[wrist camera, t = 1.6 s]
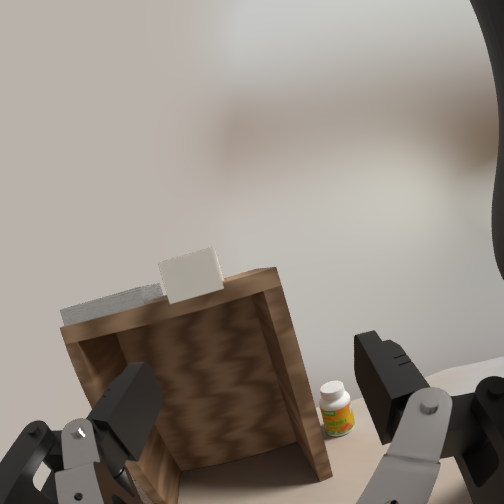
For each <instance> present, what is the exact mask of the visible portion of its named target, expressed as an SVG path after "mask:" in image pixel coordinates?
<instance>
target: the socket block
mask: <svg viewBox="0 0 504 504" xmlns="http://www.w3.org/2000/svg"><path fill="white" fill-rule="evenodd" d="M161 297H163V293H162V289H161V286H160V284H159V283H158V284H153V285H147V286H142V287H137V288H134V289H131V290H127V291H124V292H120V293H117V294H114V295H110V296H106V297H103V298H99V299H96V300H92V301H89V302H86V303H82V304H79V305H75V306H72V307H68V308H65V309H61V310H60V312H61V315H62V319H63V322H64V326H68V325H72V324H76V323H80V322H84V321H88V320H91V319H95V318H99V317H103V316H107V315H110V314H114V313H118V312H122V311H125V310H129V309H133V308H136V307H140V306H143V305H146V304H148V303H150V302H153V301H155V300H157V299H159V298H161Z"/></svg>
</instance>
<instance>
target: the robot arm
mask: <svg viewBox="0 0 504 504" xmlns="http://www.w3.org/2000/svg"><path fill="white" fill-rule="evenodd" d="M470 2H471V4H472V7H473V9H474V11H475V14H476V16H477V19H478V22H479V24H480V27H481V30H482V33H483V36H484V39H485V43H486V46H487V50H488V54H489V58H490V62H491V66H492V70H493V76H494V81H495V87H496V94H497V101H498V113H499V146H498V159H497V167H496V175H495V183H494V191H493V200H492V239H493V247H494V253H495V259H496V262H497V266H498V269H499V271H500V273H501V276H502V278H503V280H504V0H470ZM354 370H355V377H356V380H357V383H358V386H359V388H360V390H361V393H362V395H363V398H364V400H365V403H366V405H367V408H368V410H369V412H370V415H371V417H372V420H373V423H374V425H375V428H376V430H377V433H378V435H379V438H380V441H381V443H382V445H384V444H387V443H390V442H391V444H390V447H389V449H388V451H387V453H386V454H384V456H383V457H382V459H381V461H380V463H379V464H378V466H377V468H376V470H375V472H374V474H373V476H372V478H371V479H370V481H369V483H368V485H367V486H366V488H365V490H364V492H363V493H362V495H361V496H360V498H359V500H358V501H357V503H356V504H427V502H428V500H429V497H430V495H431V492H432V490H433V487H434V484H435V481H436V479H437V476H438V473H439V469H440V462H439V459H441V458H447V457H452V456H454V458H455V460H456V462H457V465H458V467H459V469H460V471H461V474H462V476H463V479H464V481H465V483H466V486H467V488H468V491H469V494H470V496H471V499H472V502H473V504H504V378H502V377H498V376H491V377H487V378H485V379H483V380H482V381H480V382H479V384H478V385H477V387H476V390H475V392H474V393H469V394H464V395H458V396H450V395H449V394H448V393H447V392H446V391H444V390H442V389H439V388H434V387H430V386H429V384H428V383H427V381H426V380H425V379H424V377H423V376H422V374H421V373H420V372H419V370H418V369H417V368H416V366H415V365H414V363H413V362H411V359H410V358H409V357H408V356H407V355H406V353H405V351H404V350H403V349H402V347H401V346H400V345H398V344H397V343H395V342H393V341H391V340H386V341H383V342H382V340H381V339H380V338H379V336H378V334H377V333H376V332H375V331H374V330H373V331H370V332H366V333H361V334H358V335H355V336H354ZM162 404H163V392H162V390H161V388H160V385H159V383H158V381H157V379H156V377H155V375H154V373H153V371H152V368H151V366H150V365H149V364H148V363H147V362H136V363H129V364H128V365H127V367H126V368H125V369H124V371H123V372H122V374H120V375H119V376H118V377H116V378H115V379H114V380H113V381H112V382H111V383H110V385H109V386H108V387H107V391H105V392H104V393H103V395H102V397H100V399H99V400H98V402H97V403H96V405H95V406H94V408H93V409H92V411H91V412H90V414H89V415H88V417H87V418H86V419H83V418H80V419H75V420H73V421H71V422H69V423H68V424H67V425H66V426H65V427H64V428H63V430H61V431H51V430H50V428H49V427H48V426H47V424H46V423H45V422H43V421H40V420H39V421H34V422H31V423H30V424H28V425H27V426H26V427H25V428H24V430H23V431H22V432H21V434H20V435H19V436H18V438H17V439H16V441H15V442H14V443H13V445H12V446H11V448H10V449H9V451H8V452H7V454H6V455H5V457H4V458H3V459H2V461H1V462H0V504H143V502H142V500H141V498H140V496H139V494H138V492H137V490H136V487H135V485H134V483H133V480H132V478H131V475H130V473H129V470H128V468H127V467H126V465H125V462H126V460H130V461H135V462H139V459H140V457H141V454H142V452H143V449H144V447H145V445H146V442H147V440H148V438H149V435H150V433H151V430H152V428H153V426H154V423H155V421H156V419H157V416H158V414H159V412H160V409H161V407H162ZM42 461H43V462H44V463H45V464H46V465H47V466H48V467H49V468H50V469H51V470H52V471H51V473H50V475H49V477H48V478H47V480H46V482H45V484H44V486H43V488H42V490H41V491H39V490H37V489H36V488H35V486H34V484H33V476H34V474H35V473H36V471H37V469H38V468H39V466H40V464H41V462H42ZM154 504H157V503H154Z"/></svg>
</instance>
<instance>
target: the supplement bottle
mask: <svg viewBox="0 0 504 504" xmlns="http://www.w3.org/2000/svg"><path fill="white" fill-rule="evenodd" d="M320 392H321V396H322V397H321V399H320V401H319V404H320V409H321V413H322V417H323V422H324V426H325V430H326V432H327V434H329V435H330V436H336V437H337V436H343V435H345V434H347V433H349V432H350V431H352V429H353V428H354V425H355V422H354V416H353V410H352V405H351V400H350V395H349V394H348V393H347V392H346V391H344V386H343V383H342V382H340V381H331V382H328V383H326V384H324V385H323V386H322V387H321V388H320Z"/></svg>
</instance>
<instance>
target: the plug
mask: <svg viewBox="0 0 504 504" xmlns="http://www.w3.org/2000/svg"><path fill="white" fill-rule="evenodd" d="M158 265H159V269H160V272H161V276H162V280H163V283H164V287H165V290H166V293H167V297H168V300H169V303H170V304H172V303H176V302H179V301H183V300H186V299H190V298H193V297H197V296H200V295H204V294H207V293H211V292H214V291H218V290H221V289H224V286H223V283H222V281H224V277H223V274H222V271H221V267H220V264H219V261H218V257H217V253H216V250H215V249H212V247H211V248H207V249H204V250H200V251H197V252H194V253H190V254H187V255H184V256H180V257H176V258H173V259H170V260H166V261H163V262H159V263H158Z"/></svg>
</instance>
